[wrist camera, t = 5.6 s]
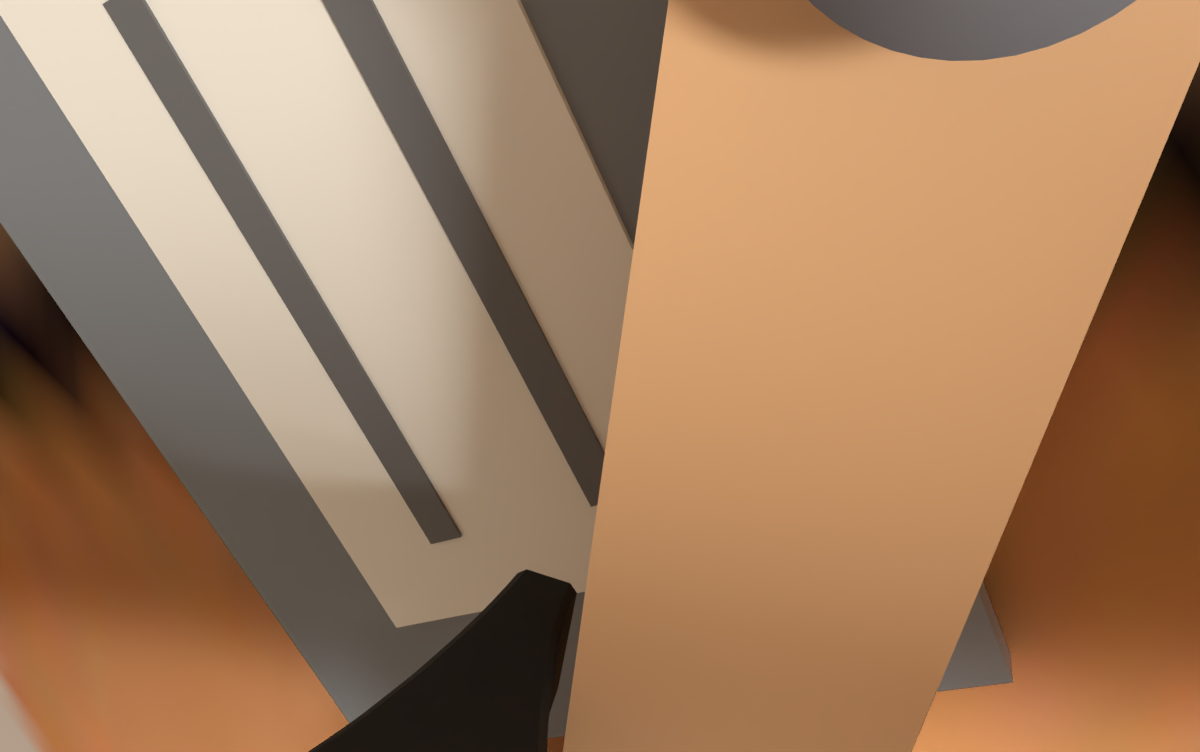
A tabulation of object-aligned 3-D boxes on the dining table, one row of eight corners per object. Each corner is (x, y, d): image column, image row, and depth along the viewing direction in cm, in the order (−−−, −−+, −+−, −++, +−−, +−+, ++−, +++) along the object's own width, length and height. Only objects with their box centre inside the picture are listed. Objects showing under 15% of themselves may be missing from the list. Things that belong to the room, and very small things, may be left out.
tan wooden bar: (780, -391, 9) (648, -571, 5) (1255, -344, 8) (1598, -504, 4) (578, 840, 18) (473, 1147, 14) (792, 912, 18) (747, 1259, 14)
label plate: (1009, 652, 15) (1013, 691, 14) (388, 735, 20) (370, 765, 19) (435, -874, 9) (395, -928, 8) (-243, -190, 14) (-299, -191, 13)
